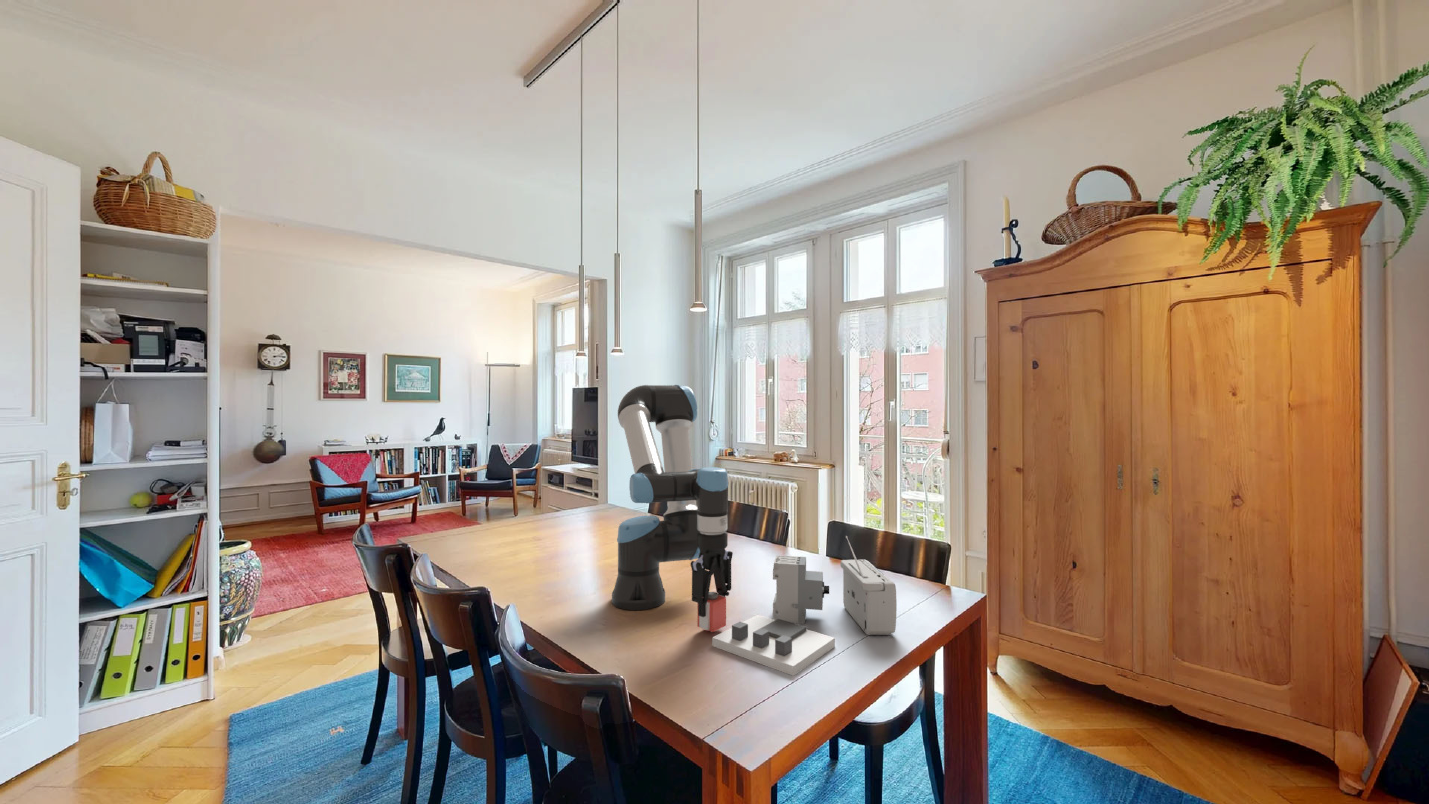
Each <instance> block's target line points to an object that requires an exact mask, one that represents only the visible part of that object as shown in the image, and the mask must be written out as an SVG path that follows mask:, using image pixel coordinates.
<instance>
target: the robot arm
mask: <svg viewBox="0 0 1429 804" xmlns="http://www.w3.org/2000/svg"><path fill="white" fill-rule="evenodd" d="M697 402H698V401H697V399H696V395H695V392H694V391H693V389H692V388H691V387H689V386H687V385H679V384H674V385H672V384H671V385H670V384H669V385H668V384H667V385H665V384H663V385H661V384H660V385H659V384H658V385H654V384H653V385H651V384H650V385H648V384H643V385H638V386H636V387H634V388H632V389H630V390H629V391H628V392H627V393H625V395H624V396H623V397H622V398H621V400H620V402H619V404H618V408H617V419H618V420H617V421H618V423H619V426H620V427H621V428H623V429H624V435H625V439H626V442H627V446H628V450H629V454H630V459H631V463H632V467H633V472H634V473H632V474H631V475H630V477H629V495H630V496H629V497H630V500H631V501H632V502H633V503H635V504H654V503H655V504H656V503H667V509H666V511H665V512H664V513H663V516H662V517H663V520H660V519H659V517H658V516H657V515H638V516H635V517H630V518H628V519H626V520H624V521H622V522H621V523H620V524H619V526H618V530H617V539H616V540H617V577H616V579H615V580H616V581H615V584H614V588H613V591H612V593H611V604H612V605H613V606H614V607H616V608H618V609H621V610H628V611H643V610H649V609H653V608H657V607H659V606H661V605H663V604H664V603H665V602H666V590H665V588H664V583H663V581H662V577H661V574H660V563H667V562H668V563H670V562H680V561H690V567H691V568H690V569H691V601H692V602H694V603H696V604H697V616H698V615H699V627H698V628H700V629H702V630H705V631H708V630H710V603H708V602H707V601H708V594H709V592H710V587H711V582H712V576H713V579H714V583H715V584H714V585H715V590H716V591H715V592H716V593H718V595H719V596H723V597H729V595H730V592H729V591H731V590H732V560H733V554H734V553H733V551H731V550H726V548H727V547H728V545H729V544H728V532H727V530H728V512H729V511H728V510H729V509H728V507H729V506H728V505H729V503H728V502H729V498H728V497H729V479H728V478H729V477H728V476H729V475H728V471H727V470H726V469H725V468H723V467H716V466H715V467H713V466H711V467H710V466H708V467H702V468H693V460H692V452H691V441H690V432H689V431H690V429H691V428H692V427H693V424H694V423H693V422H695V421H696V420H697V417H698V404H697ZM651 423H654V425H655V429H656V431H658V432H659V433H660V435H661V445H662V446H661V447H662V456H663V464H662V461H661V457H660V454H659V453H660V452H659V451H658V450H659V449H658V448H657V443H656V441H655V437H654V433H653V431H652V427H651ZM694 560H695V561H694Z"/></svg>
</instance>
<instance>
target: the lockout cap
mask: <svg viewBox="0 0 1429 804" xmlns="http://www.w3.org/2000/svg"><path fill="white" fill-rule="evenodd" d="M707 602H708V603H710V630H707V631H708V632H712V633H714V632H717V631H718V630H720V629H722V628H724V627H726V626H727V596H725V597H723V596H719V595H718V593H717V591H709V594H708V601H707ZM697 627H698V628H699V615H698V614H697Z"/></svg>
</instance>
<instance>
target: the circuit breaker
mask: <svg viewBox="0 0 1429 804" xmlns="http://www.w3.org/2000/svg"><path fill="white" fill-rule="evenodd" d="M823 574H824V573H823V571H817V570H807V557H806V556H798V555H797V556H796V555H795V556H794V555H778V554H776V556H775V559H774V563H773V569H772V580H774V581H775V580H776V583H775V585H776V593H775V595H774V599H773V602H772V619H774V620H777V619H781V620H784V621H788V622H791V623H794V624H805V622H806V616H807V610H814V611H816V610H817V611H823V606H824V605H823V604H824V598H825V595H830V585H825V581H823V580H824V575H823Z"/></svg>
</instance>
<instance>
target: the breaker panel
mask: <svg viewBox="0 0 1429 804" xmlns="http://www.w3.org/2000/svg"><path fill="white" fill-rule="evenodd" d="M711 644H712V647H714V648H717V649H720V650H723V651H725V652H727V653H730V654H732V655H733V654H734V655H736V656H738V657H741V658H743V659H746V660H748V661H749V660H750V661H752V662H754V663H758V664H760V665H764V666H766V667H767V668H768V667H769V668H771V669H774V670H776V671H780V672H782V673H785V674H787V675H790V676H795V675H797V674H798V673H799V672H801V671H803V670H804V669H805V668H807V667H808V666H809V665H811V664H812V663H813V662H815V661H816V660H818V659H819V658H820V657H822V656H824V655H825V654H827V653H828V652H829V651H831V650H832V649H833V648H835V647H836V638H835V637H834V636H830V635H826V634H823V633H820V632H818V631H817V632H816V631H814V630H810V629H807V626H804V625H800V624H799V623H792V622H788V621H784V620H781V619H777V620H774V619H773V618H770V617H767V616H763V615H760V614H756V615H754V616H752V617H749V618H748V619H746V620H744V621H737V622H735V623H734V624H732V625H731V627H730V628H728V629H726V630H724V631H722V632H720V633H719V634H716V635H715V636H713V637H712V643H711Z"/></svg>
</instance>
